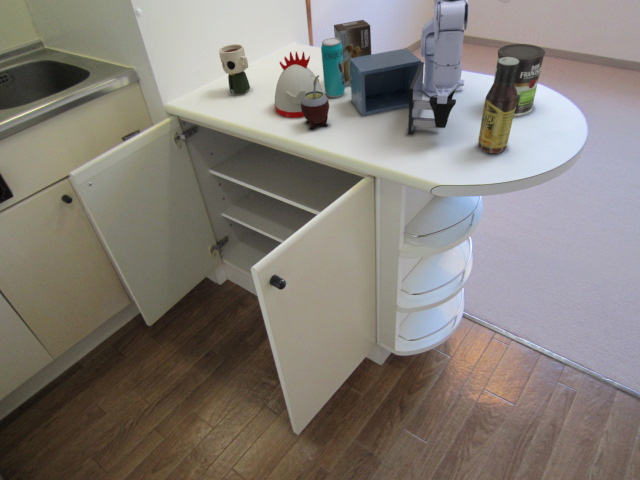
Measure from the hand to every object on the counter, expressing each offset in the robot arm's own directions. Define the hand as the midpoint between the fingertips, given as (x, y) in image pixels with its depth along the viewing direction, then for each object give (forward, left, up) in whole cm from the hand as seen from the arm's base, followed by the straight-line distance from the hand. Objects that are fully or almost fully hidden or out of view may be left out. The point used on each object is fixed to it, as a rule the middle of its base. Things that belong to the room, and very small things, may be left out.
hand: (442, 119), depth 109 cm
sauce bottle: (-7, +11, -4) cm, 13 cm away
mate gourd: (+27, -16, -4) cm, 31 cm away
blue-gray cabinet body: (+7, -21, -4) cm, 23 cm away
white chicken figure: (+29, -29, -4) cm, 41 cm away
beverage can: (+18, -32, -4) cm, 37 cm away
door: (0, -7, -4) cm, 8 cm away
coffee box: (+10, -39, -4) cm, 41 cm away
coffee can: (-21, -5, -4) cm, 22 cm away
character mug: (+44, -47, -4) cm, 64 cm away
